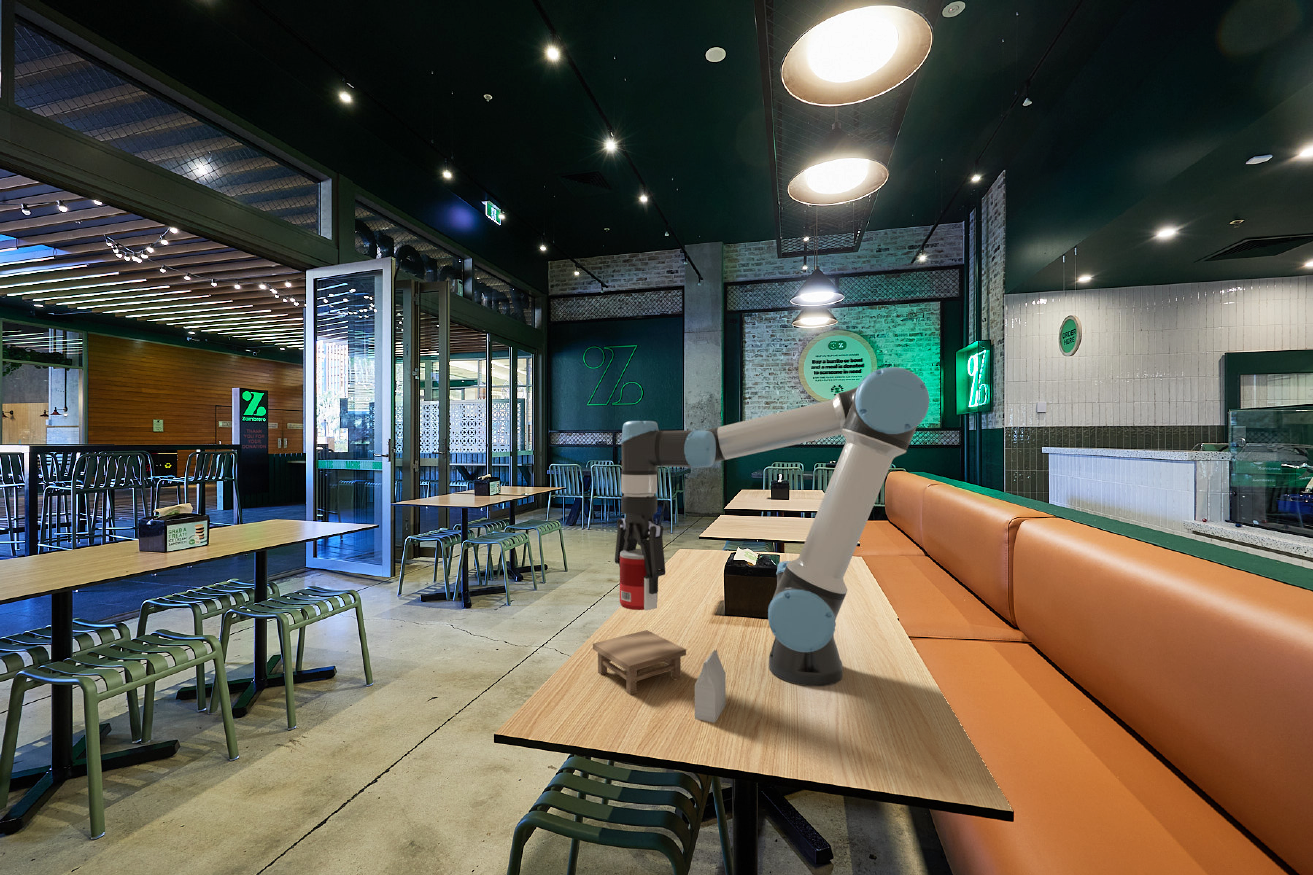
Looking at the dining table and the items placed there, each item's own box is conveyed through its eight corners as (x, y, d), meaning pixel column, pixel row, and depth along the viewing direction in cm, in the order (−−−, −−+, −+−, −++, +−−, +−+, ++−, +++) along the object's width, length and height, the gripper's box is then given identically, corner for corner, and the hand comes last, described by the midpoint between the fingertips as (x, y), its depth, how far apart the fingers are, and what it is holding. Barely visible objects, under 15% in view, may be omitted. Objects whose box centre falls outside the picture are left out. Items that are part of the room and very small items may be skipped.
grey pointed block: (725, 705, 98) (725, 651, 98) (714, 723, 92) (715, 665, 92) (706, 701, 99) (706, 648, 99) (694, 718, 93) (694, 661, 93)
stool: (686, 678, 109) (686, 649, 109) (629, 697, 100) (629, 665, 101) (646, 656, 120) (646, 629, 120) (592, 671, 112) (592, 643, 112)
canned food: (657, 610, 107) (657, 556, 107) (617, 610, 107) (618, 555, 107) (657, 599, 114) (658, 548, 114) (621, 599, 114) (621, 548, 115)
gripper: (684, 497, 105) (683, 613, 104) (627, 490, 121) (626, 589, 121) (654, 500, 100) (653, 620, 100) (598, 491, 117) (598, 594, 117)
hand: (638, 603), depth 110 cm, fingers closed on canned food, 8 cm apart
